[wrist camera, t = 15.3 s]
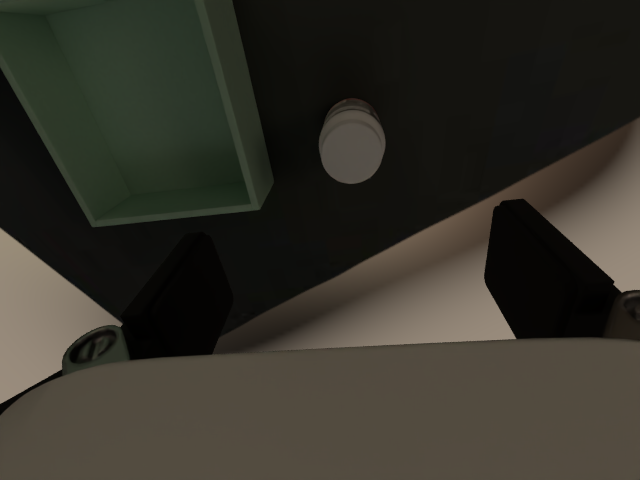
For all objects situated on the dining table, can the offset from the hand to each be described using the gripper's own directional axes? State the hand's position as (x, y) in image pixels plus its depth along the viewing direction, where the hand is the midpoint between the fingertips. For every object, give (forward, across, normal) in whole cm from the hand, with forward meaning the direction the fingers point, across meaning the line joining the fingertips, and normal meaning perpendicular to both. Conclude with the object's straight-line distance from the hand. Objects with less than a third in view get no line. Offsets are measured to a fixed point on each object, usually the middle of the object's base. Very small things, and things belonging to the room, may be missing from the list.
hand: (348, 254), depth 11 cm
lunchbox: (+20, +15, -3) cm, 26 cm away
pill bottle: (+20, 0, 0) cm, 20 cm away
